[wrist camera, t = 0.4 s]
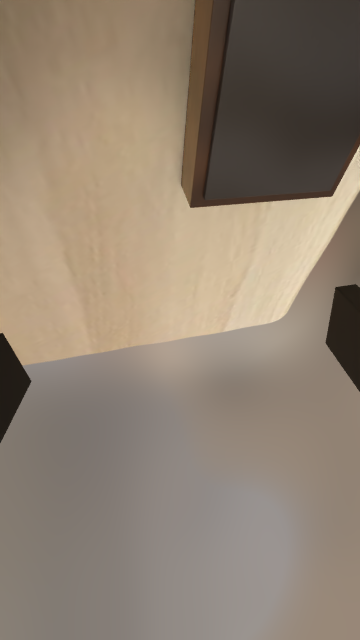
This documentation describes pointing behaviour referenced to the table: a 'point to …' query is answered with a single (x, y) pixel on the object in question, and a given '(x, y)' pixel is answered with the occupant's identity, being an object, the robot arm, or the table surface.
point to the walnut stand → (271, 100)
